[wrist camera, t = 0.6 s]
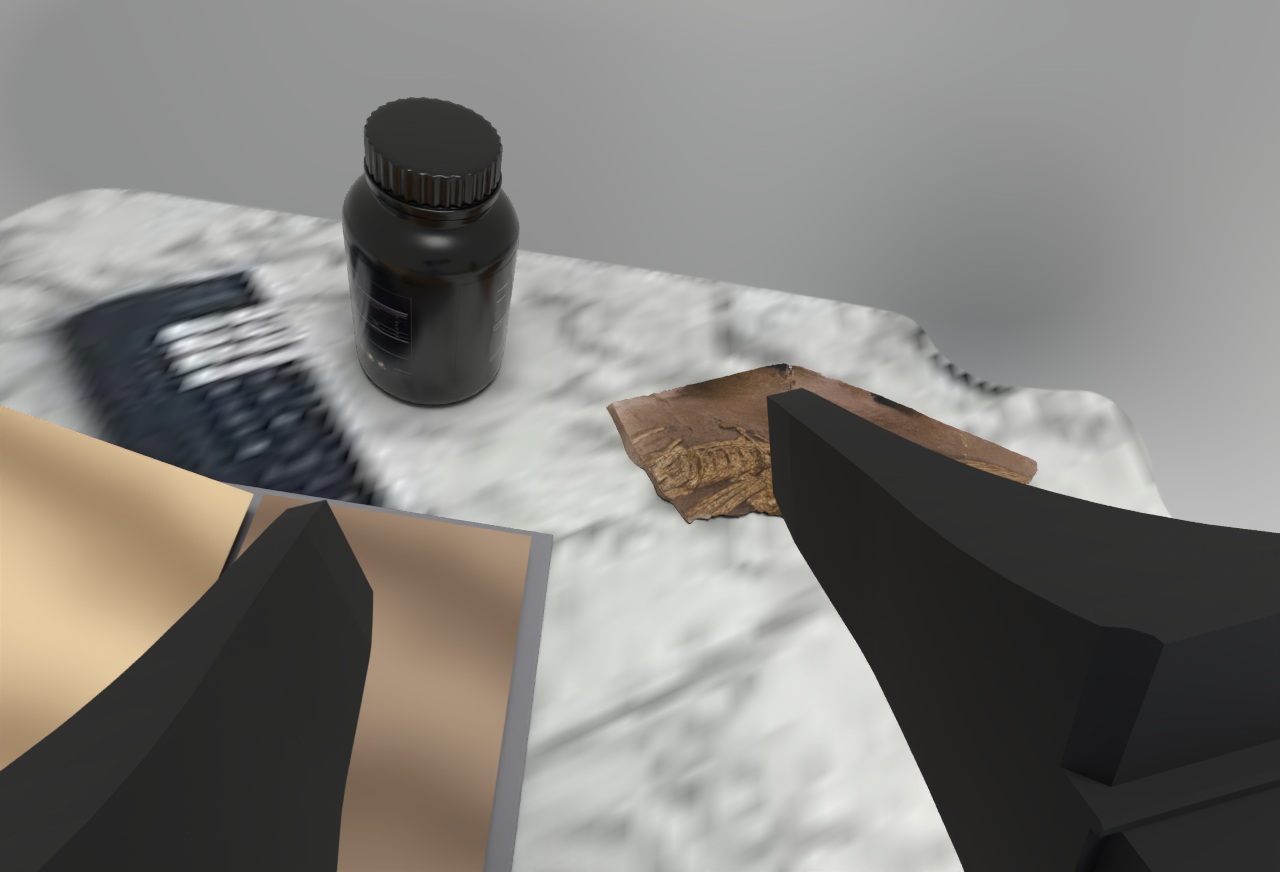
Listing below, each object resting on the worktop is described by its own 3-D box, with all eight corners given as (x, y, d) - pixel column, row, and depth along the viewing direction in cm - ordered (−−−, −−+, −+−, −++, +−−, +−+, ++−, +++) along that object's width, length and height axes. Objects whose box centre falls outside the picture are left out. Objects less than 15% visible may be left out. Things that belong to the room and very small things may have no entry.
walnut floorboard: (418, 1284, 17) (418, 1309, 16) (-47, 1303, 16) (-85, 1333, 14) (526, 552, 29) (531, 536, 28) (269, 513, 27) (263, 493, 26)
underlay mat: (450, 1335, 18) (451, 1346, 17) (-800, 1401, 13) (-844, 1417, 13) (551, 541, 31) (553, 534, 30) (-63, 444, 26) (-71, 435, 26)
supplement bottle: (437, 285, 37) (447, 62, 28) (529, 364, 36) (573, 158, 26) (322, 344, 33) (290, 107, 24) (421, 436, 32) (427, 222, 22)
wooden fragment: (602, 514, 32) (608, 503, 31) (608, 338, 39) (613, 325, 38) (1073, 575, 38) (1087, 567, 37) (1009, 413, 44) (1021, 402, 43)
